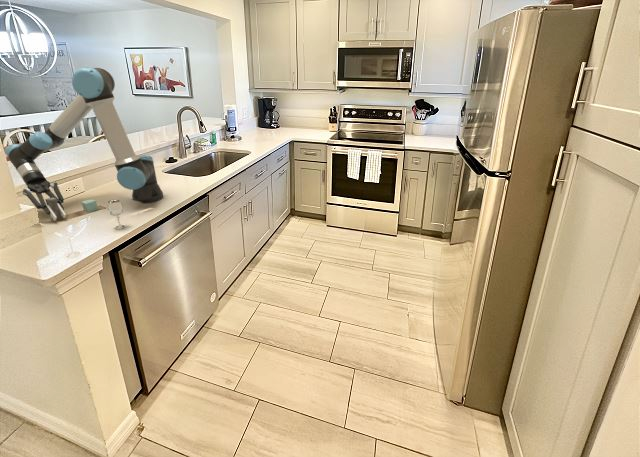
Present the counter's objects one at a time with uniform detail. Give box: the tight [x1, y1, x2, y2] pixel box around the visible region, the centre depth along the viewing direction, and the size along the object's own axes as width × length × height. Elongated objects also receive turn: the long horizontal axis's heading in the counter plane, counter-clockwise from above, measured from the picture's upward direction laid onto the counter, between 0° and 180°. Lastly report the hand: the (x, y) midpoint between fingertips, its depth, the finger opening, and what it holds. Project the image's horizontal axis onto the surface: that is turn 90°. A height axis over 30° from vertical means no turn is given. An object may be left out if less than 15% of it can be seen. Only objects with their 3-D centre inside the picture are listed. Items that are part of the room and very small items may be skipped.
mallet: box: [44, 197, 107, 223], centre depth 165 cm, size 22×7×11 cm, turn 146°
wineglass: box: [106, 199, 127, 230], centre depth 152 cm, size 6×6×12 cm
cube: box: [80, 198, 98, 214], centre depth 169 cm, size 4×4×4 cm
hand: (60, 217), depth 157 cm, fingers closed on mallet, 3 cm apart
